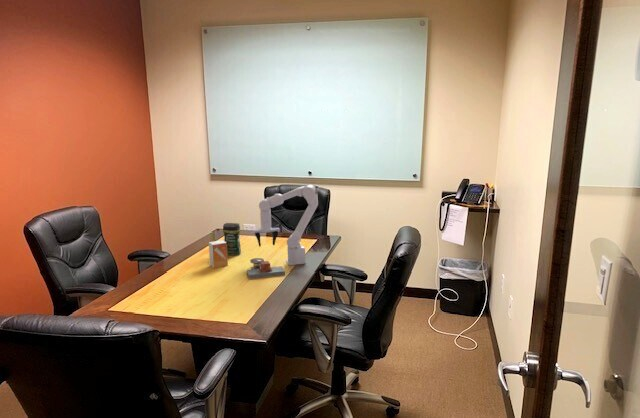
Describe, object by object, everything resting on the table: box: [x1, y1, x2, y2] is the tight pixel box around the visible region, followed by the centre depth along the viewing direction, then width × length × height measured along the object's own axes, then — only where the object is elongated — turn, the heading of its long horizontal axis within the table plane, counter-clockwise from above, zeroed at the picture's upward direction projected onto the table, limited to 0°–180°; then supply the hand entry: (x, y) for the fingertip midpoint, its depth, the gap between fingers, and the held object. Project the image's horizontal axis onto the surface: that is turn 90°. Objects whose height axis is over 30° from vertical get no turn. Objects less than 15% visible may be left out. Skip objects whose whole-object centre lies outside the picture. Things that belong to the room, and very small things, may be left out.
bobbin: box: [250, 257, 265, 272], centre depth 224 cm, size 7×7×5 cm
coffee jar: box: [222, 222, 242, 256], centre depth 249 cm, size 10×8×19 cm
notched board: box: [246, 265, 286, 280], centre depth 216 cm, size 18×8×2 cm, turn 106°
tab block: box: [260, 260, 271, 273], centre depth 217 cm, size 4×4×6 cm
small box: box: [208, 239, 229, 269], centre depth 229 cm, size 8×6×13 cm
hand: (266, 245), depth 234 cm, fingers open, 7 cm apart
